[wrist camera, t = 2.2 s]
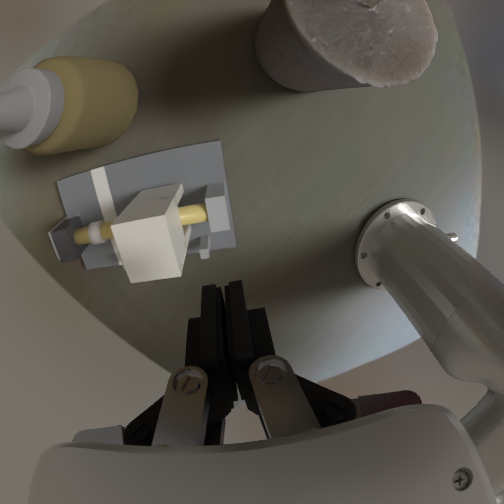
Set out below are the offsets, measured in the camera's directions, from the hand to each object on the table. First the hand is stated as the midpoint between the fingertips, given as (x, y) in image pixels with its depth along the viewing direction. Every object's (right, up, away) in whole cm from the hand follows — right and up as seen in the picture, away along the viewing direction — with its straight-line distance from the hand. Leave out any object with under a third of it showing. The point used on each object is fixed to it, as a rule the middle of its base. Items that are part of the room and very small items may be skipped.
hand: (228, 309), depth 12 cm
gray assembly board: (-10, +7, +15) cm, 20 cm away
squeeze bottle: (-13, +17, +10) cm, 23 cm away
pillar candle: (+6, +22, +9) cm, 24 cm away
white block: (-7, +6, +14) cm, 17 cm away
